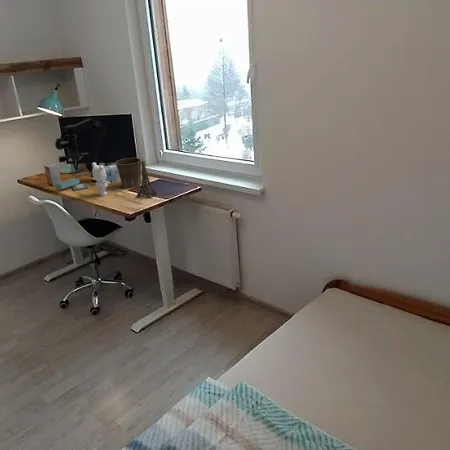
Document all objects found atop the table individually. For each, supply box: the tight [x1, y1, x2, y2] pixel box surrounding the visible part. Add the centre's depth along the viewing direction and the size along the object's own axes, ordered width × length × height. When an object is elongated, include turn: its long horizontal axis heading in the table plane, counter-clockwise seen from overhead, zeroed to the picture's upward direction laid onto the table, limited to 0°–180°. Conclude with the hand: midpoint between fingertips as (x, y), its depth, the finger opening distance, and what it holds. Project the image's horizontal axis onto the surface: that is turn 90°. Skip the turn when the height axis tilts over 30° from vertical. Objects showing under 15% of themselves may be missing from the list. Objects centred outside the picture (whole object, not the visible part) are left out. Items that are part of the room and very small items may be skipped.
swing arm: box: [55, 176, 82, 190], centre depth 300 cm, size 5×17×3 cm, turn 149°
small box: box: [43, 163, 62, 186], centre depth 309 cm, size 8×6×13 cm
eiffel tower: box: [134, 156, 160, 199], centre depth 270 cm, size 11×11×25 cm
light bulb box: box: [104, 164, 121, 186], centre depth 304 cm, size 11×7×11 cm, turn 130°
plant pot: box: [114, 157, 142, 189], centre depth 293 cm, size 16×16×16 cm
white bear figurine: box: [90, 162, 111, 196], centre depth 278 cm, size 8×20×19 cm, turn 47°
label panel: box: [71, 182, 90, 192], centre depth 299 cm, size 9×11×1 cm
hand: (76, 170), depth 297 cm, fingers closed
